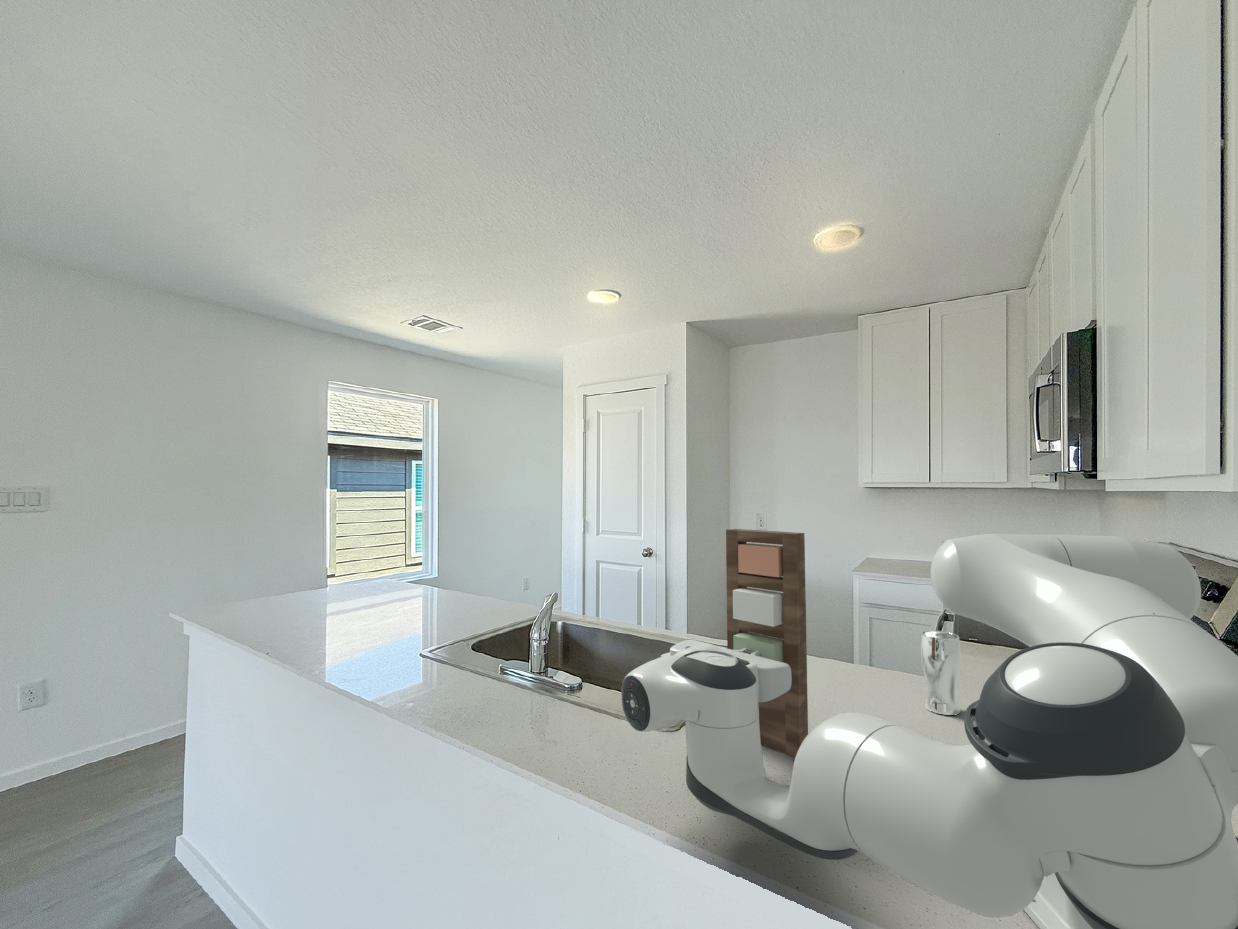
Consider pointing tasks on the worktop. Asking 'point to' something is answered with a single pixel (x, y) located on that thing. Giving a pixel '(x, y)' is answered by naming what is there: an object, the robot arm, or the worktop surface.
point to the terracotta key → (760, 559)
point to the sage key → (760, 645)
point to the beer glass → (941, 670)
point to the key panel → (777, 633)
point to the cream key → (758, 606)
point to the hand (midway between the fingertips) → (752, 654)
